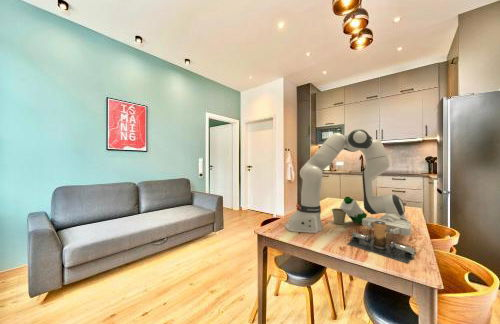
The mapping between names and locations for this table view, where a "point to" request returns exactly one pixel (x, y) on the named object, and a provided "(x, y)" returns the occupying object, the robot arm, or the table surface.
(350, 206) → the milk carton
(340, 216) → the flower pot
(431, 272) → the table surface
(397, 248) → the shaft bench
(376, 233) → the amber capped cylinder
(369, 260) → the table surface
